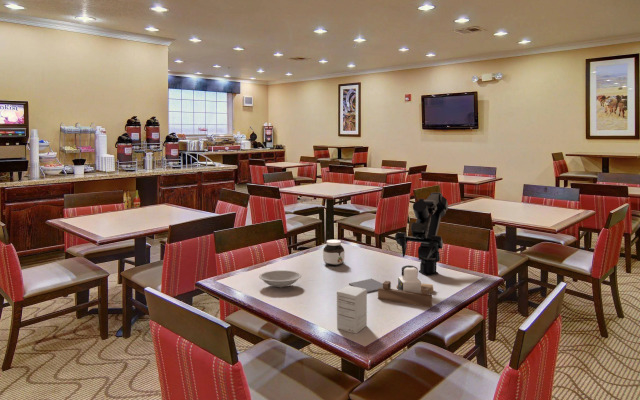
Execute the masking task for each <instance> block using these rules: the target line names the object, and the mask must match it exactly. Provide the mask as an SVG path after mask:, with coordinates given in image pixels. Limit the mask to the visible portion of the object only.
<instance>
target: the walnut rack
mask: <svg viewBox="0 0 640 400" xmlns="http://www.w3.org/2000/svg"><path fill="white" fill-rule="evenodd" d="M382 283H383V287H379V288H378V291H377V299H379V300H384V301H390V302H396V303H403V304H409V305H414V306H419V307H424V308H425V307H426V308H431V307H432V306H433V295H432V294H431V293H430V287H425V286H424V287H423V289H422V292H421V293H415V292H408V291H402V290H398V289H397V288H396V289H395V288H391V287H392V286H391V284H392V283H391V281H390V280H385V281H383V282H382Z"/></svg>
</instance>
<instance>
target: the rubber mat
mask: <svg viewBox="0 0 640 400" xmlns="http://www.w3.org/2000/svg"><path fill="white" fill-rule="evenodd" d="M383 283H384V282H380V281H379V280H376V279H373V278H368V279H363V280H362V279H361V280H359V281H353V282H349V283H348V285H349V286H354V287H359V288H363V289H367V294H369V293H373V292H374V293H375V292H378V288H379V287H383Z"/></svg>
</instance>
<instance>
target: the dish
mask: <svg viewBox="0 0 640 400" xmlns="http://www.w3.org/2000/svg"><path fill="white" fill-rule="evenodd" d="M258 278H259V279H260V280H262V281H263V282H264V283H265V284H267V285H268V286H271V287H277V288H279V287H282V288H284V287H288V286H291V285H293V284H295V283H296V282H297V281H298V280H299V279H301V278H302V273H300V272H297V271H292V270H271V271H265V272H262V273H259V275H258Z"/></svg>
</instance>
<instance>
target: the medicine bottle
mask: <svg viewBox="0 0 640 400" xmlns="http://www.w3.org/2000/svg"><path fill="white" fill-rule="evenodd" d="M418 272H419V270H418V268H417V267H416V266H414V265H409V264H408V265H403V266H402V267H401V276H398V278H397V285H398V288H397V290H402V291H408V292H415V293H421V294H422V292H421V283H422V282H421V280H420V279H419V278H418V274H419V273H418Z"/></svg>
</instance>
